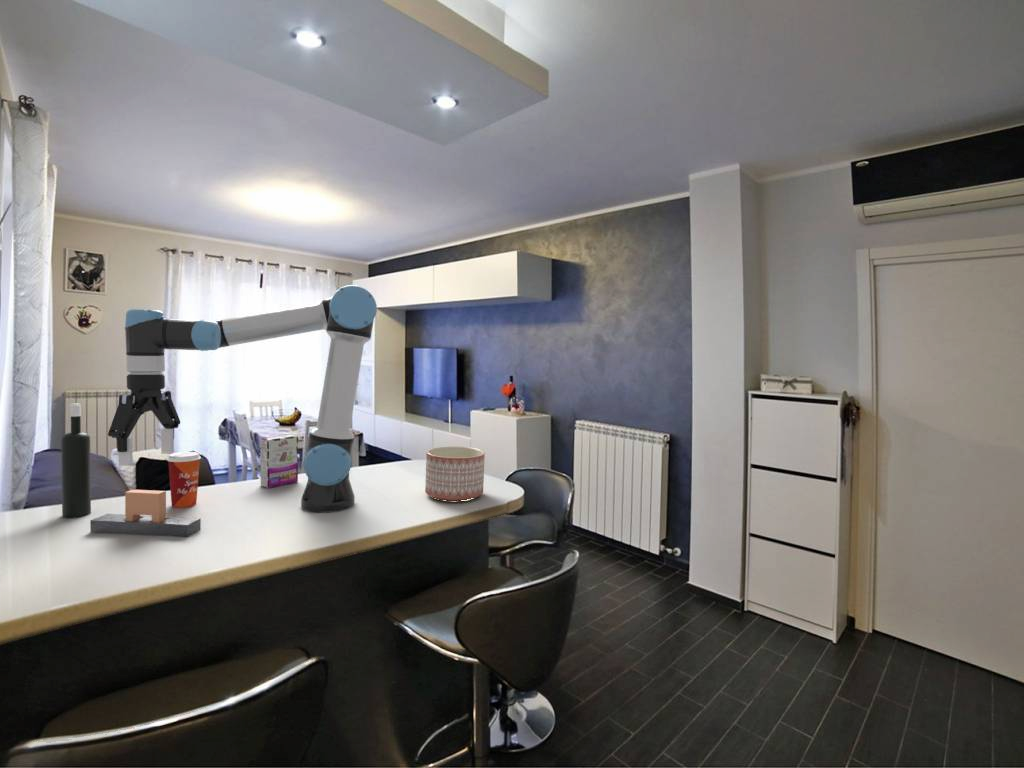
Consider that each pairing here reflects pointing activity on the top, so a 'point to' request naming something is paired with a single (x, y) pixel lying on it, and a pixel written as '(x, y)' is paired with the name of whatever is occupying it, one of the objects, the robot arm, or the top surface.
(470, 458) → the planter
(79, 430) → the wine bottle
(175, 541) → the top surface
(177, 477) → the coffee cup
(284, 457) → the candy bar box
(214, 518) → the top surface
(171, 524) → the rail
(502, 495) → the top surface
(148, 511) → the clip
